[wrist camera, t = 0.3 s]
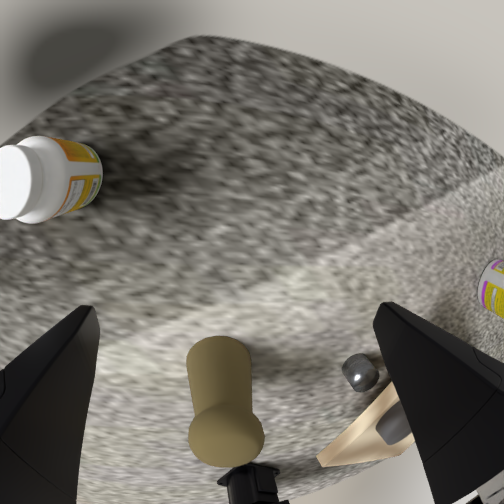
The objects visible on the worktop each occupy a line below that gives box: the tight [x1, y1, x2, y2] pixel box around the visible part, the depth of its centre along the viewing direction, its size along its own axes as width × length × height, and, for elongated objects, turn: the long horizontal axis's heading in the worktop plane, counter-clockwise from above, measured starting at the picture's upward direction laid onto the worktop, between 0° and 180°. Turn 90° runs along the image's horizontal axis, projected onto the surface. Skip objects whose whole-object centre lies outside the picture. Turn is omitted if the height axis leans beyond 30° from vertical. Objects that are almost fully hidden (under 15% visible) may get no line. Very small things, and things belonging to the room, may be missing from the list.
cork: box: [186, 336, 265, 467], centre depth 21 cm, size 6×6×11 cm
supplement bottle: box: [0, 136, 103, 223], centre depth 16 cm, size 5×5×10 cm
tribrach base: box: [342, 354, 379, 392], centre depth 29 cm, size 18×20×3 cm
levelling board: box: [316, 382, 415, 467], centre depth 24 cm, size 16×18×4 cm
